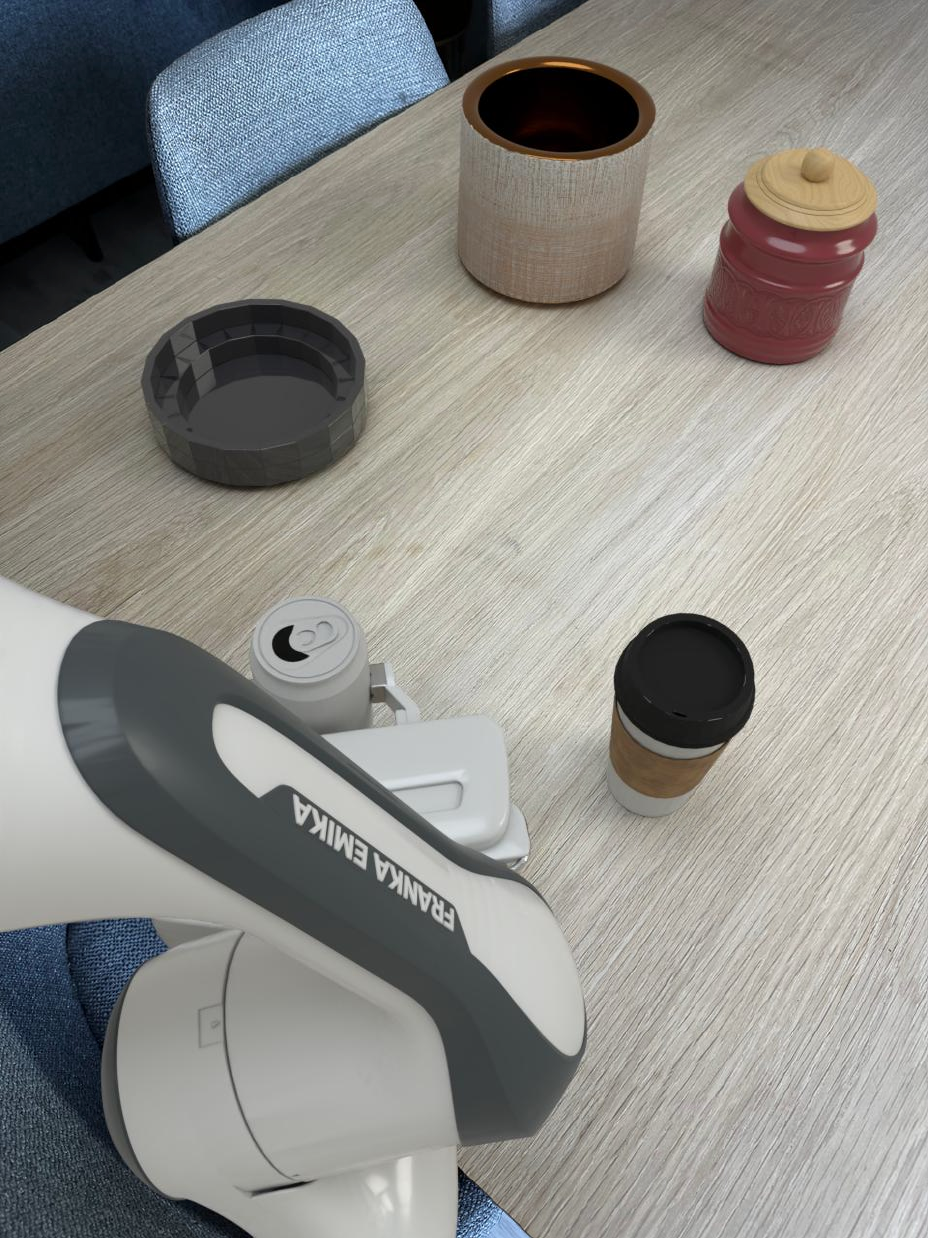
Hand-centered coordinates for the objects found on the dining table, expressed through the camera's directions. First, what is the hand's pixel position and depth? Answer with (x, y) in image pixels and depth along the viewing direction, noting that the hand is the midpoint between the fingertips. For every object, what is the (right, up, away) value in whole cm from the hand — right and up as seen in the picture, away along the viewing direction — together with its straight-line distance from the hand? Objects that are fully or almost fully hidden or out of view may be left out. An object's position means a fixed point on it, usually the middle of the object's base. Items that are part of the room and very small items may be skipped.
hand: (312, 676), depth 60 cm
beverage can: (0, -5, +5) cm, 7 cm away
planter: (+17, +40, +46) cm, 63 cm away
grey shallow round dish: (-9, +21, +32) cm, 39 cm away
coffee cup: (+22, -8, +13) cm, 26 cm away
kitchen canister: (+38, +32, +41) cm, 64 cm away
